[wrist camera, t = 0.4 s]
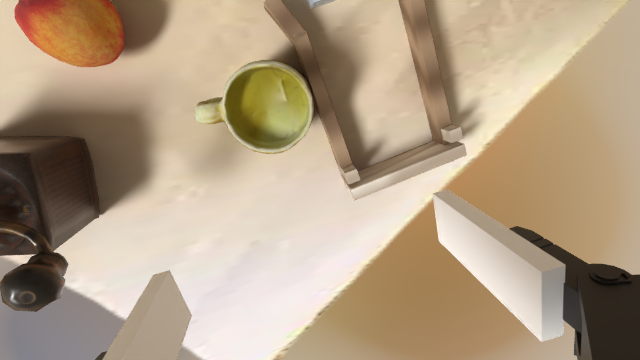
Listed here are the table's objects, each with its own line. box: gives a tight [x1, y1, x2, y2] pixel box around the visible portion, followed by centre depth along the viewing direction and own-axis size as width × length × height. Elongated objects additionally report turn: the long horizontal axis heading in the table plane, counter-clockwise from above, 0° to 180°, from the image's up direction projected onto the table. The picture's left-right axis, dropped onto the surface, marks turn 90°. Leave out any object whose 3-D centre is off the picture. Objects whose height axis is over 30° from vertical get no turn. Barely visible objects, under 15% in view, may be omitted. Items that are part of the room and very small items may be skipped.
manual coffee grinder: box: [0, 136, 99, 312], centre depth 30 cm, size 16×11×18 cm
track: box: [264, 0, 467, 200], centre depth 37 cm, size 24×18×5 cm
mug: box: [195, 60, 314, 154], centre depth 35 cm, size 12×10×10 cm
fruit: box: [15, 0, 124, 67], centre depth 30 cm, size 8×8×8 cm
